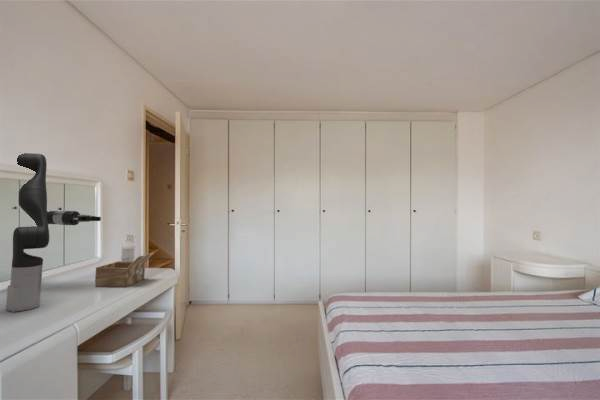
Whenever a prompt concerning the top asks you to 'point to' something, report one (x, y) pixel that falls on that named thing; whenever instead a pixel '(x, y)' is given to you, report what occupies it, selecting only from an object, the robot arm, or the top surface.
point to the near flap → (141, 259)
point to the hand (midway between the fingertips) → (99, 218)
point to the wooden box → (119, 274)
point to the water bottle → (128, 250)
